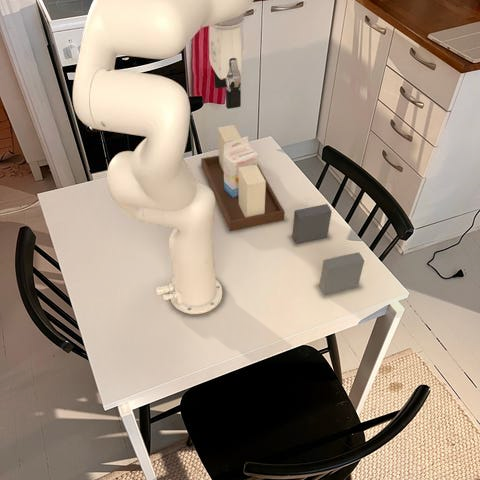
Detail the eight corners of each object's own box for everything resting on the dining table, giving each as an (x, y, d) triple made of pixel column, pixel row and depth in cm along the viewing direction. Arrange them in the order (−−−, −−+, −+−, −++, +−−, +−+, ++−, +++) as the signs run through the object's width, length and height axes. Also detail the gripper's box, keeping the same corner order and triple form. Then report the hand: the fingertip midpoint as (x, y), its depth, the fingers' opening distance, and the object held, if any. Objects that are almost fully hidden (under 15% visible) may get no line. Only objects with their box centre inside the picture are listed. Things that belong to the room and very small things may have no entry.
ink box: (232, 198, 144) (232, 152, 132) (223, 189, 147) (222, 144, 135) (257, 188, 147) (258, 143, 135) (247, 180, 149) (248, 134, 138)
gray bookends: (323, 295, 121) (328, 268, 115) (291, 237, 135) (294, 210, 128) (357, 287, 123) (364, 260, 116) (322, 230, 136) (327, 203, 130)
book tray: (229, 231, 136) (229, 222, 134) (201, 166, 156) (201, 158, 153) (283, 220, 139) (284, 211, 137) (249, 158, 159) (249, 150, 156)
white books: (247, 221, 137) (247, 184, 128) (219, 163, 155) (217, 127, 146) (264, 218, 138) (265, 181, 129) (234, 160, 156) (234, 124, 147)
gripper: (197, 0, 105) (202, 82, 118) (218, 32, 95) (221, 118, 108) (231, -4, 107) (232, 77, 120) (256, 27, 96) (254, 113, 109)
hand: (227, 96), depth 114 cm, fingers open, 9 cm apart
